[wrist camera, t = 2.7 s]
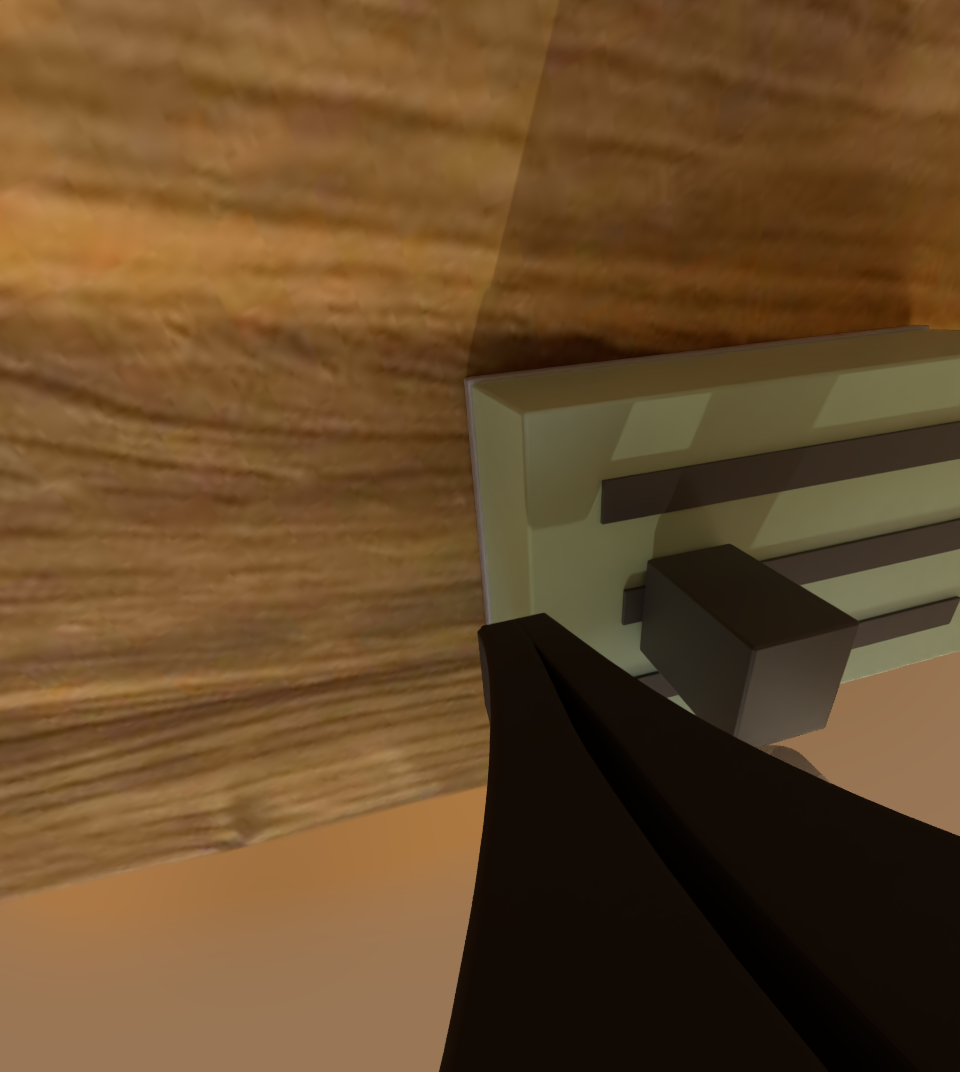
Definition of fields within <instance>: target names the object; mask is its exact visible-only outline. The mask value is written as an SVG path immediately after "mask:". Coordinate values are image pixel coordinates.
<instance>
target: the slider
mask: <svg viewBox="0 0 960 1072" xmlns="http://www.w3.org/2000/svg"><path fill="white" fill-rule="evenodd" d="M859 627H860V622H859V621H858V620H857V619H855V618H853V617H852V616H850V615H848V614H847V613H845V612H843V611H842V610H840V609H838V608H837V607H835V606H833V605H832V604H830V603H828V602H827V601H825V600H823V599H822V598H820V597H818V596H817V595H815V594H813V593H812V592H810V591H808V590H807V589H805V588H803V587H802V586H800V585H798V584H797V583H795V582H794V581H792V580H790V579H789V578H787V577H785V576H784V575H782V574H780V573H779V572H777V571H775V570H774V569H772V568H770V567H769V566H767V565H765V564H764V563H762V562H760V561H759V560H757V559H755V558H754V557H752V556H750V555H749V554H747V553H745V552H744V551H742V550H740V549H739V548H737V547H735V546H734V545H732V544H724V545H719V546H714V547H709V548H704V549H699V550H694V551H689V552H685V553H680V554H675V555H670V556H665V557H660V558H655V559H650V560H648V562H647V572H646V583H645V595H644V606H643V617H642V628H641V640H640V651H641V652H642V653H643V654H644V655H645V657H646V658H647V659H648V660H649V661H650V662H651V664H652V665H653V666H654V667H655V668H656V669H657V671H658V672H659V673H660V674H661V675H662V676H663V678H664V679H665V680H666V681H667V682H668V683H669V684H670V686H671V687H672V688H673V689H674V690H675V691H676V693H677V694H678V695H679V696H680V697H681V698H682V700H683V701H684V702H685V703H686V704H687V705H688V707H689V708H690V709H691V710H692V711H693V712H694V714H695V715H696V716H698V717H699V718H701V719H703V720H705V721H707V722H708V723H710V724H712V725H714V726H715V727H717V728H719V729H721V730H723V731H725V732H727V733H729V734H731V735H733V736H734V737H736V738H738V739H740V740H742V741H744V742H746V743H748V744H750V745H752V746H753V747H755V748H759V747H762V746H766V745H769V744H772V743H776V742H779V741H783V740H786V739H789V738H793V737H796V736H800V735H803V734H806V733H810V732H813V731H817V730H819V729H823V728H824V727H825V726H826V724H827V721H828V718H829V715H830V712H831V709H832V706H833V703H834V700H835V697H836V694H837V691H838V688H839V685H840V682H841V679H842V677H843V674H844V671H845V668H846V665H847V662H848V659H849V656H850V653H851V650H852V647H853V644H854V641H855V638H856V635H857V632H858V629H859Z"/></svg>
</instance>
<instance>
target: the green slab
mask: <svg viewBox="0 0 960 1072" xmlns="http://www.w3.org/2000/svg"><path fill="white" fill-rule="evenodd" d="M464 387H465V398H466V409H467V420H468V431H469V442H470V453H471V464H472V475H473V486H474V497H475V508H476V519H477V530H478V541H479V552H480V563H481V574H482V585H483V596H484V607H485V618H486V625H488V624H493V623H498V622H502V621H507V620H512V619H516V618H521V617H525V616H530V615H535V614H539V613H544V612H545V613H546V614H547V615H549V616H550V617H551V618H553V619H554V620H555V621H557V622H558V623H560V624H561V625H562V626H564V627H565V628H566V629H568V630H569V631H570V632H572V633H573V634H574V635H576V636H577V637H578V638H580V639H581V640H582V641H584V642H585V643H586V644H588V645H589V646H591V647H592V648H593V649H595V650H596V651H597V652H599V653H600V654H602V655H603V656H604V657H606V658H607V659H609V660H610V661H611V662H613V663H614V664H616V665H617V666H619V667H620V668H622V669H623V670H625V671H626V672H628V673H629V674H630V675H632V676H633V677H635V678H636V679H638V680H639V681H641V682H642V683H644V684H645V685H647V686H648V687H650V688H652V689H653V690H655V691H656V692H658V693H660V694H661V695H663V696H664V697H666V698H668V699H669V700H671V701H673V702H674V703H676V704H678V705H679V706H681V707H682V708H684V709H686V710H687V711H689V712H691V713H692V714H694V712H693V711H692V710H691V709H690V708H689V707H688V705H687V704H686V703H685V702H684V701H683V700H682V698H681V697H680V696H679V695H678V694H677V693H676V691H675V690H674V689H673V688H672V687H671V686H670V684H669V683H668V682H667V681H666V680H665V679H664V678H663V676H662V675H661V674H660V673H659V672H658V671H657V669H656V668H655V667H654V666H653V665H652V664H651V662H650V661H649V660H648V659H647V658H646V657H645V655H644V654H643V653H642V652H641V651H640V640H641V628H642V617H643V606H644V595H645V583H646V572H647V562H648V560H650V559H655V558H660V557H665V556H670V555H675V554H680V553H685V552H689V551H694V550H699V549H704V548H709V547H714V546H719V545H724V544H732V545H734V546H735V547H737V548H739V549H740V550H742V551H744V552H745V553H747V554H749V555H750V556H752V557H754V558H755V559H757V560H759V561H760V562H762V563H764V564H765V565H767V566H769V567H770V568H772V569H774V570H775V571H777V572H779V573H780V574H782V575H784V576H785V577H787V578H789V579H790V580H792V581H794V582H795V583H797V584H798V585H800V586H802V587H803V588H805V589H807V590H808V591H810V592H812V593H813V594H815V595H817V596H818V597H820V598H822V599H823V600H825V601H827V602H828V603H830V604H832V605H833V606H835V607H837V608H838V609H840V610H842V611H843V612H845V613H847V614H848V615H850V616H852V617H853V618H855V619H857V620H858V621H859V622H860V627H859V629H858V632H857V635H856V638H855V641H854V644H853V647H852V650H851V653H850V656H849V659H848V662H847V665H846V668H845V671H844V674H843V677H842V679H841V682H840V684H842V683H846V682H849V681H853V680H856V679H860V678H863V677H867V676H871V675H874V674H878V673H882V672H885V671H889V670H893V669H896V668H900V667H903V666H907V665H910V664H914V663H918V662H921V661H925V660H928V659H932V658H935V657H939V656H943V655H947V654H950V653H954V652H957V651H960V330H933V329H929V326H928V325H910V326H901V327H892V328H884V329H875V330H867V331H858V332H849V333H841V334H832V335H824V336H815V337H807V338H798V339H789V340H781V341H772V342H764V343H755V344H747V345H738V346H729V347H721V348H712V349H704V350H695V351H686V352H678V353H669V354H661V355H652V356H644V357H635V358H626V359H618V360H609V361H601V362H592V363H583V364H575V365H566V366H558V367H549V368H541V369H532V370H523V371H515V372H506V373H498V374H489V375H481V376H472V377H466V378H464ZM694 715H695V714H694Z"/></svg>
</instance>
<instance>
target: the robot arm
mask: <svg viewBox="0 0 960 1072" xmlns="http://www.w3.org/2000/svg"><path fill="white" fill-rule="evenodd" d="M478 641H479V651H480V660H481V670H482V680H483V689H484V699H485V706H486V709H487V713H488V717H489V722H490V753H489V771H488V784H487V795H486V805H485V814H484V825H483V833H482V839H481V846H480V854H479V861H478V869H477V876H476V882H475V889H474V895H473V901H472V907H471V914H470V919H469V925H468V930H467V935H466V940H465V946H464V951H463V957H462V962H461V967H460V973H459V977H458V983H457V988H456V993H455V999H454V1004H453V1009H452V1015H451V1019H450V1024H449V1029H448V1034H447V1038H446V1043H445V1048H444V1053H443V1057H442V1062H441V1066H440V1070H439V1072H960V836H958V835H955V834H952V833H950V832H947V831H945V830H942V829H940V828H937V827H934V826H932V825H929V824H927V823H924V822H922V821H919V820H917V819H914V818H911V817H909V816H906V815H904V814H901V813H899V812H896V811H894V810H892V809H889V808H887V807H884V806H882V805H880V804H877V803H875V802H873V801H870V800H868V799H865V798H863V797H860V796H858V795H856V794H853V793H851V792H849V791H847V790H844V789H842V788H840V787H838V786H836V785H834V784H831V783H829V782H827V781H825V780H823V779H820V778H818V777H816V776H814V775H812V774H809V773H807V772H805V771H803V770H801V769H798V768H796V767H794V766H792V765H790V764H788V763H786V762H784V761H782V760H779V759H777V758H775V757H773V756H771V755H769V754H767V753H765V752H763V751H761V750H759V749H757V748H755V747H753V746H752V745H750V744H748V743H746V742H744V741H742V740H740V739H738V738H736V737H734V736H733V735H731V734H729V733H727V732H725V731H723V730H721V729H719V728H717V727H715V726H714V725H712V724H710V723H708V722H707V721H705V720H703V719H701V718H699V717H698V716H696V715H694V714H692V713H691V712H689V711H687V710H686V709H684V708H682V707H681V706H679V705H678V704H676V703H674V702H673V701H671V700H669V699H668V698H666V697H664V696H663V695H661V694H660V693H658V692H656V691H655V690H653V689H652V688H650V687H648V686H647V685H645V684H644V683H642V682H641V681H639V680H638V679H636V678H635V677H633V676H632V675H630V674H629V673H628V672H626V671H625V670H623V669H622V668H620V667H619V666H617V665H616V664H614V663H613V662H611V661H610V660H609V659H607V658H606V657H604V656H603V655H602V654H600V653H599V652H597V651H596V650H595V649H593V648H592V647H591V646H589V645H588V644H586V643H585V642H584V641H582V640H581V639H580V638H578V637H577V636H576V635H574V634H573V633H572V632H570V631H569V630H568V629H566V628H565V627H564V626H562V625H561V624H560V623H558V622H557V621H555V620H554V619H553V618H551V617H550V616H549V615H547V614H546V613H545V612H544V613H539V614H535V615H530V616H525V617H521V618H516V619H512V620H507V621H502V622H498V623H493V624H488V625H484V626H482V627H481V629H480V630H479V631H478Z"/></svg>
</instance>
